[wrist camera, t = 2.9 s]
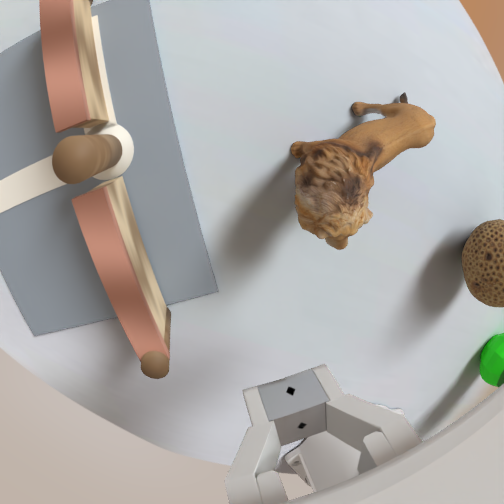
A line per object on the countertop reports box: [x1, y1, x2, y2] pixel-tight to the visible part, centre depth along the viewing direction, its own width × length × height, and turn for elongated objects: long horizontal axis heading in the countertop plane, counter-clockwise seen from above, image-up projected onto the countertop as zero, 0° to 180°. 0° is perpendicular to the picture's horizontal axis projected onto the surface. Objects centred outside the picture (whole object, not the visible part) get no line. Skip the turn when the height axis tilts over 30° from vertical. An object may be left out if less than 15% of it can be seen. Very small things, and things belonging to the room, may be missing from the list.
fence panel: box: [71, 176, 171, 379], centre depth 19 cm, size 12×2×6 cm, turn 11°
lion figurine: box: [291, 92, 436, 250], centre depth 18 cm, size 15×5×9 cm, turn 131°
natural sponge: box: [462, 219, 504, 307], centre depth 24 cm, size 9×9×10 cm
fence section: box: [40, 0, 122, 184], centre depth 13 cm, size 15×2×7 cm, turn 11°
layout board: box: [0, 0, 218, 336], centre depth 18 cm, size 24×18×1 cm
